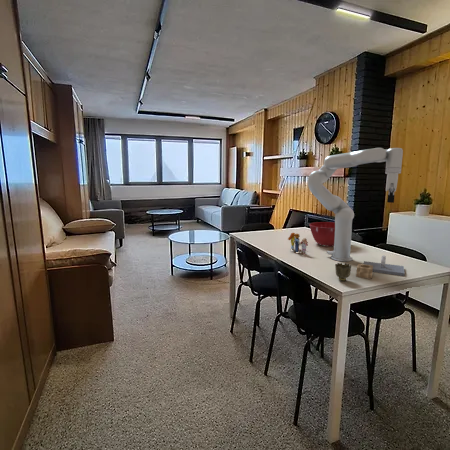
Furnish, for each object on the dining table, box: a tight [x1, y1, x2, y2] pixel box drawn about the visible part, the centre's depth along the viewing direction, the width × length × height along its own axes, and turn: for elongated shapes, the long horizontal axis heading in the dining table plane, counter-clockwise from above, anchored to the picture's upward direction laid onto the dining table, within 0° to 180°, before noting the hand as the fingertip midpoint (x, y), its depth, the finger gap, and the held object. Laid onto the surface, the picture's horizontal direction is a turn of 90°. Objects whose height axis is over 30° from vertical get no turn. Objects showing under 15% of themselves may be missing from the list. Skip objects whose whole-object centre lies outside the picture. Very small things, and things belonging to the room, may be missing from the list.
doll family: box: [287, 232, 309, 255], centre depth 198 cm, size 21×10×13 cm, turn 7°
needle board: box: [362, 255, 405, 277], centre depth 160 cm, size 20×14×8 cm
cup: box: [334, 262, 352, 282], centre depth 143 cm, size 8×7×8 cm
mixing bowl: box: [309, 221, 335, 247], centre depth 219 cm, size 28×28×16 cm
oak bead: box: [355, 263, 374, 280], centre depth 150 cm, size 7×7×5 cm
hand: (390, 201), depth 163 cm, fingers open, 9 cm apart
